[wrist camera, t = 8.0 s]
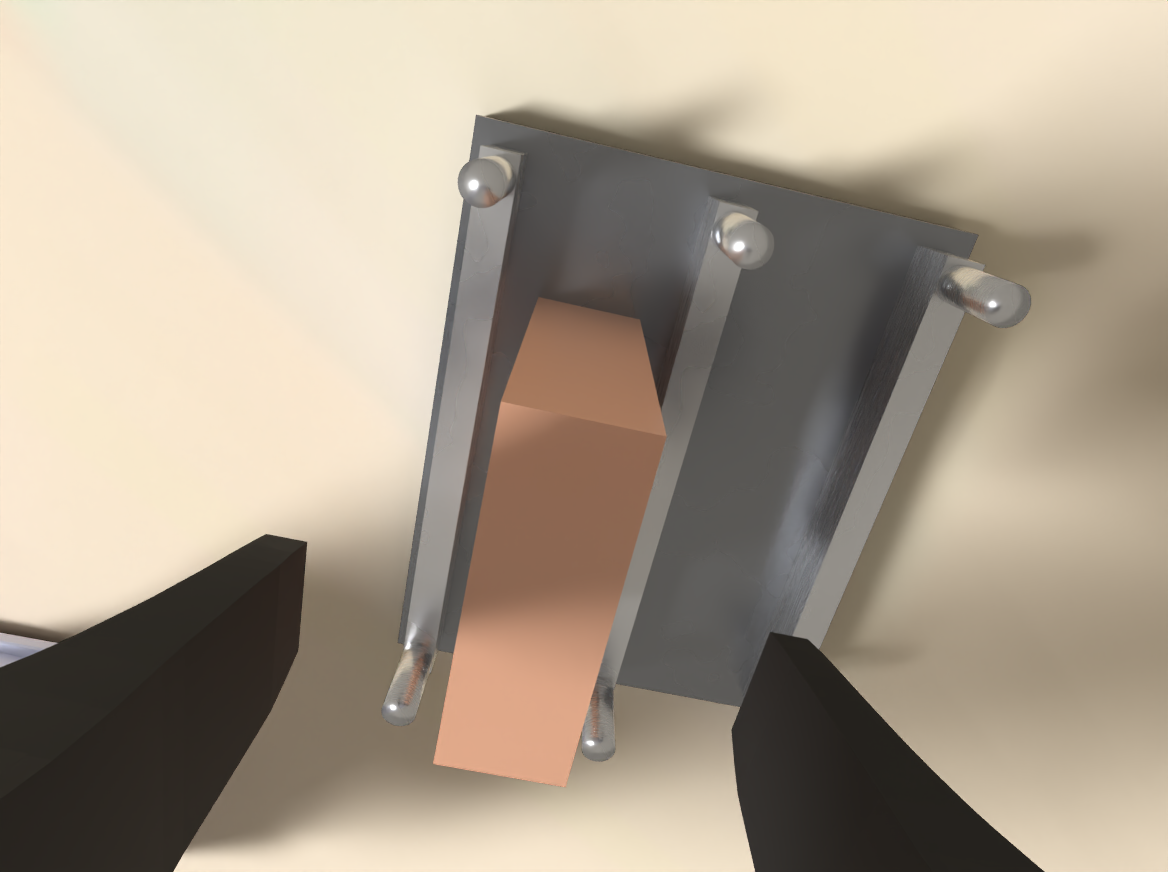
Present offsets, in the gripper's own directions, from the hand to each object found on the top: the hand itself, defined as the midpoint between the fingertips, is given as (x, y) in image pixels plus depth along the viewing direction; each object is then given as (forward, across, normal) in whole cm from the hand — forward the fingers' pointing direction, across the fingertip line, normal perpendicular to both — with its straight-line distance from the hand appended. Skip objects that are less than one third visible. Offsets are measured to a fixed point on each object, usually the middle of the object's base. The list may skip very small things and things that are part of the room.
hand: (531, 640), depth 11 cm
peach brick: (+8, 0, 0) cm, 8 cm away
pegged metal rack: (+8, -2, 0) cm, 9 cm away
